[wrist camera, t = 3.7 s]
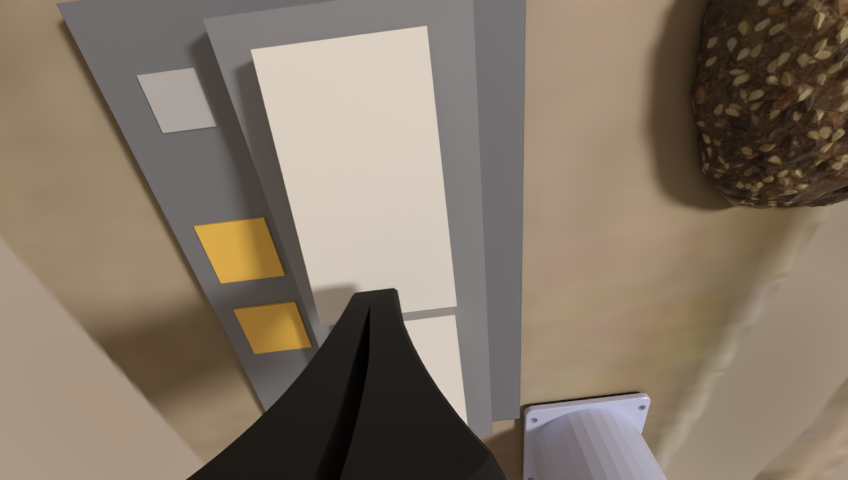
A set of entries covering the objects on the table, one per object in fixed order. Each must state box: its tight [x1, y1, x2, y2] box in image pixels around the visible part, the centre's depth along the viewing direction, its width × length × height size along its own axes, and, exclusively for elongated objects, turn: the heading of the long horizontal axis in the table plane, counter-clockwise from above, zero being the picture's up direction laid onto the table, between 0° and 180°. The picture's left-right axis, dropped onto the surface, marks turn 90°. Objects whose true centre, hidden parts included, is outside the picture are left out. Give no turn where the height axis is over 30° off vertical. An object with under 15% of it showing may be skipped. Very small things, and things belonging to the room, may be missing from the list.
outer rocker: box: [251, 26, 457, 323], centre depth 13 cm, size 9×5×1 cm, turn 6°
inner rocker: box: [402, 308, 468, 426], centre depth 18 cm, size 9×5×1 cm, turn 6°
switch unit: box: [57, 0, 526, 437], centre depth 18 cm, size 24×15×2 cm, turn 7°
